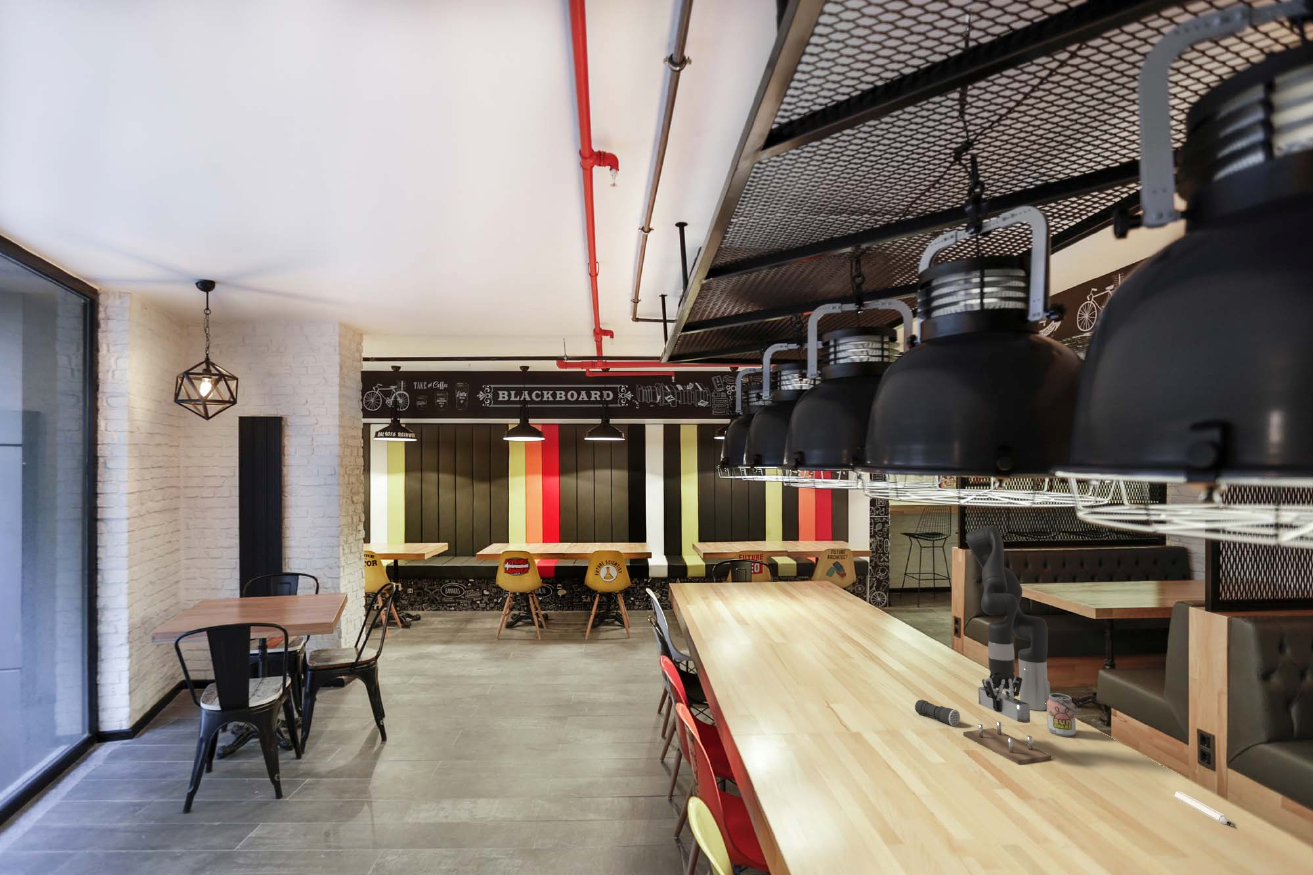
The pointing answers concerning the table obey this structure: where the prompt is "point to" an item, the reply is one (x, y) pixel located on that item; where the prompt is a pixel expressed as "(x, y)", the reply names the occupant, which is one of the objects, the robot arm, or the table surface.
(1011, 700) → the grey long metal bar
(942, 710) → the flashlight
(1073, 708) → the beverage can
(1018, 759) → the tool rest
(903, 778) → the table surface
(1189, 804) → the marker
